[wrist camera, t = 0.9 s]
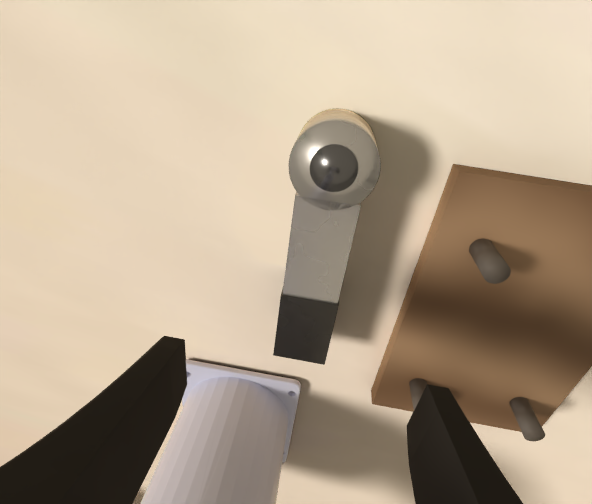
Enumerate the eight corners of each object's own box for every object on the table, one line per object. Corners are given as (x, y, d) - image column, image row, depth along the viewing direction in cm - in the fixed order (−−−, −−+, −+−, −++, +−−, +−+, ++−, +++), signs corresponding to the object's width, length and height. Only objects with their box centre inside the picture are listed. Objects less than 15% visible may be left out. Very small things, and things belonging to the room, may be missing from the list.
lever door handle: (332, 329, 21) (331, 365, 18) (275, 319, 21) (266, 353, 19) (384, 114, 15) (391, 129, 12) (302, 102, 15) (293, 114, 12)
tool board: (528, 419, 23) (551, 468, 20) (371, 390, 23) (374, 434, 20) (696, 202, 15) (769, 236, 12) (453, 164, 15) (474, 189, 13)
